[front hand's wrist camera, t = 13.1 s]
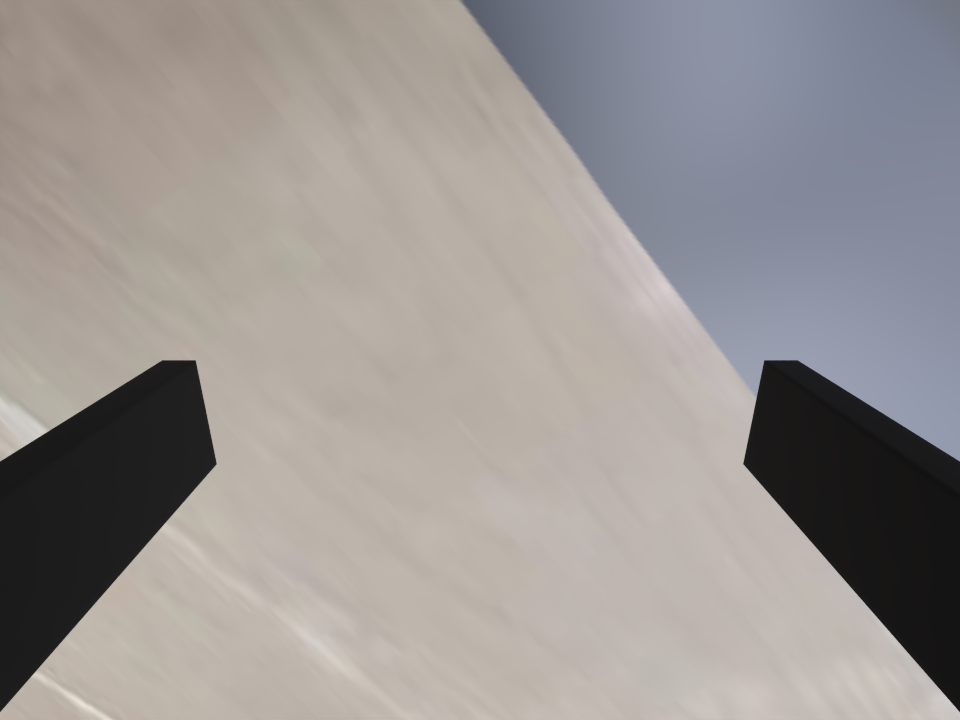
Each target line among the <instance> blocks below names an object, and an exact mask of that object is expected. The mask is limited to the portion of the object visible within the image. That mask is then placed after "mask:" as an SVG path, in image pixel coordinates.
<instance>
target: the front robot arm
mask: <svg viewBox="0 0 960 720" xmlns="http://www.w3.org/2000/svg"><path fill="white" fill-rule="evenodd" d="M216 464H217V463H216V458H215V454H214V449H213V444H212V439H211V434H210V429H209V424H208V419H207V414H206V409H205V404H204V399H203V395H202V390H201V385H200V380H199V375H198V370H197V365H196V360H162V361H161V362H159V363H158V364H156V365H154V366H153V367H151V368H150V369H148V370H146V371H145V372H143V373H142V374H140V375H138V376H137V377H135V378H134V379H132V380H130V381H129V382H127V383H125V384H124V385H122V386H121V387H119V388H117V389H116V390H114V391H113V392H111V393H109V394H108V395H106V396H105V397H103V398H101V399H100V400H98V401H97V402H95V403H93V404H92V405H90V406H89V407H87V408H85V409H84V410H82V411H81V412H79V413H77V414H76V415H74V416H73V417H71V418H69V419H68V420H66V421H65V422H63V423H61V424H60V425H58V426H57V427H55V428H53V429H52V430H50V431H49V432H47V433H45V434H44V435H42V436H41V437H39V438H37V439H36V440H34V441H33V442H31V443H29V444H28V445H26V446H24V447H23V448H21V449H20V450H18V451H16V452H15V453H13V454H12V455H10V456H8V457H7V458H5V459H4V460H2V461H0V712H1V710H2V709H3V708H4V707H5V706H6V705H7V704H8V702H9V701H10V700H11V699H12V698H13V697H14V696H15V694H16V693H17V692H18V691H19V690H20V689H21V688H22V686H23V685H24V684H25V683H26V682H27V681H28V680H29V678H30V677H31V676H32V675H33V674H34V673H35V671H36V670H37V669H38V668H39V667H40V666H41V665H42V663H43V662H44V661H45V660H46V659H47V658H48V657H49V655H50V654H51V653H52V652H53V651H54V650H55V649H56V647H57V646H58V645H59V644H60V643H61V642H62V641H63V639H64V638H65V637H66V636H67V635H68V634H69V633H70V631H71V630H72V629H73V628H74V627H75V626H76V625H77V623H78V622H79V621H80V620H81V619H82V618H83V617H84V615H85V614H86V613H87V612H88V611H89V610H90V608H91V607H92V606H93V605H94V604H95V603H96V602H97V600H98V599H99V598H100V597H101V596H102V595H103V594H104V592H105V591H106V590H107V589H108V588H109V587H110V586H111V584H112V583H113V582H114V581H115V580H116V579H117V578H118V576H119V575H120V574H121V573H122V572H123V571H124V570H125V568H126V567H127V566H128V565H129V564H130V563H131V562H132V560H133V559H134V558H135V557H136V556H137V555H138V554H139V552H140V551H141V550H142V549H143V548H144V547H145V545H146V544H147V543H148V542H149V541H150V540H151V539H152V537H153V536H154V535H155V534H156V533H157V532H158V531H159V529H160V528H161V527H162V526H163V525H164V524H165V523H166V521H167V520H168V519H169V518H170V517H171V516H172V515H173V513H174V512H175V511H176V510H177V509H178V508H179V507H180V505H181V504H182V503H183V502H184V501H185V500H186V499H187V497H188V496H189V495H190V494H191V493H192V492H193V491H194V489H195V488H196V487H197V486H198V485H199V484H200V483H201V481H202V480H203V479H204V478H205V477H206V476H207V474H208V473H209V472H210V471H211V470H212V469H213V468H214V466H215V465H216ZM743 464H744V465H745V466H746V468H747V469H748V470H749V471H750V472H751V473H752V474H753V476H754V477H755V478H756V479H757V480H758V481H759V483H760V484H761V485H762V486H763V487H764V488H765V489H766V491H767V492H768V493H769V494H770V495H771V496H772V497H773V499H774V500H775V501H776V502H777V503H778V504H779V505H780V507H781V508H782V509H783V510H784V511H785V512H786V513H787V515H788V516H789V517H790V518H791V519H792V520H793V521H794V523H795V524H796V525H797V526H798V527H799V528H800V529H801V531H802V532H803V533H804V534H805V535H806V536H807V537H808V539H809V540H810V541H811V542H812V543H813V544H814V546H815V547H816V548H817V549H818V550H819V551H820V552H821V554H822V555H823V556H824V557H825V558H826V559H827V560H828V562H829V563H830V564H831V565H832V566H833V567H834V568H835V570H836V571H837V572H838V573H839V574H840V575H841V576H842V578H843V579H844V580H845V581H846V582H847V583H848V584H849V586H850V587H851V588H852V589H853V590H854V591H855V592H856V594H857V595H858V596H859V597H860V598H861V599H862V600H863V602H864V603H865V604H866V605H867V606H868V607H869V608H870V610H871V611H872V612H873V613H874V614H875V615H876V617H877V618H878V619H879V620H880V621H881V622H882V623H883V625H884V626H885V627H886V628H887V629H888V630H889V631H890V633H891V634H892V635H893V636H894V637H895V638H896V639H897V641H898V642H899V643H900V644H901V645H902V646H903V647H904V649H905V650H906V651H907V652H908V653H909V654H910V655H911V657H912V658H913V659H914V660H915V661H916V662H917V663H918V665H919V666H920V667H921V668H922V669H923V670H924V671H925V673H926V674H927V675H928V676H929V677H930V678H931V680H932V681H933V682H934V683H935V684H936V685H937V686H938V688H939V689H940V690H941V691H942V692H943V693H944V694H945V696H946V697H947V698H948V699H949V700H950V701H951V702H952V704H953V705H954V706H955V707H956V708H957V709H958V710H959V712H960V461H958V460H956V459H955V458H953V457H952V456H950V455H948V454H947V453H945V452H943V451H942V450H940V449H939V448H937V447H936V446H934V445H932V444H931V443H929V442H927V441H926V440H924V439H923V438H921V437H919V436H918V435H916V434H915V433H913V432H911V431H910V430H908V429H907V428H905V427H903V426H902V425H900V424H899V423H897V422H895V421H894V420H892V419H891V418H889V417H887V416H886V415H884V414H883V413H881V412H879V411H878V410H876V409H875V408H873V407H871V406H870V405H868V404H867V403H865V402H863V401H862V400H860V399H859V398H857V397H855V396H854V395H852V394H851V393H849V392H847V391H846V390H844V389H843V388H841V387H839V386H838V385H836V384H835V383H833V382H831V381H830V380H828V379H826V378H825V377H823V376H822V375H820V374H818V373H817V372H815V371H814V370H812V369H810V368H809V367H807V366H806V365H804V364H802V363H801V362H799V361H796V360H790V361H789V360H788V361H786V360H781V361H779V360H776V361H775V360H774V361H773V360H771V361H770V360H768V361H764V365H763V370H762V375H761V380H760V385H759V390H758V395H757V399H756V404H755V409H754V414H753V419H752V424H751V429H750V434H749V439H748V444H747V449H746V454H745V458H744V463H743Z"/></svg>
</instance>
